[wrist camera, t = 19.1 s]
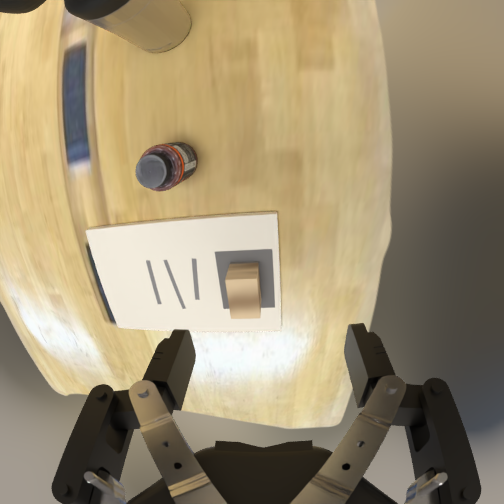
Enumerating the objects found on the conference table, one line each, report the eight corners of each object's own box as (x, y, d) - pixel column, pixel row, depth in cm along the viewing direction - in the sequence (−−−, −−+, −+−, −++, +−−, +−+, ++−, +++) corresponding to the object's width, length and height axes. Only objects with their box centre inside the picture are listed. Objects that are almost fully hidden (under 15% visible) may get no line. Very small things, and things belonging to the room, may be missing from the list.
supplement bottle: (170, 185, 40) (139, 204, 30) (156, 151, 38) (120, 160, 28) (204, 171, 39) (181, 185, 29) (190, 135, 37) (161, 137, 27)
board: (89, 227, 44) (85, 230, 43) (276, 211, 41) (277, 214, 40) (121, 323, 53) (118, 327, 52) (281, 325, 50) (281, 331, 49)
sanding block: (230, 262, 43) (225, 279, 38) (258, 261, 43) (257, 278, 38) (234, 299, 46) (231, 318, 41) (261, 298, 46) (260, 318, 41)
